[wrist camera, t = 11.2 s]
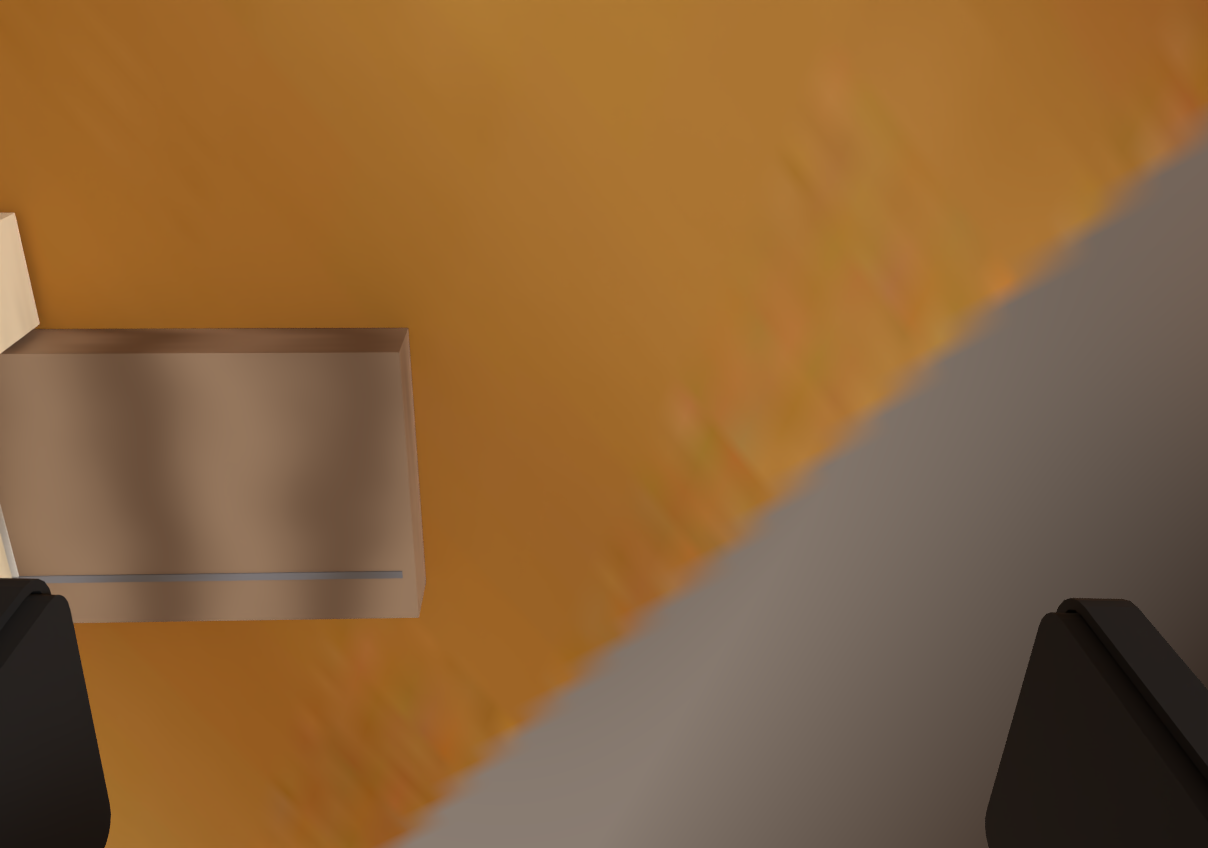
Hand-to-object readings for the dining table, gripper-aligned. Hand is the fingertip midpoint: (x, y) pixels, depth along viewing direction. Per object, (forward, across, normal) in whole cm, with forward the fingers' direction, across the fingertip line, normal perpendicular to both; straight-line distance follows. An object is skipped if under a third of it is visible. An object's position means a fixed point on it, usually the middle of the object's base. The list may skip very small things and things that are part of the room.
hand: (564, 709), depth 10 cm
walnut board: (+28, +15, +13) cm, 34 cm away
